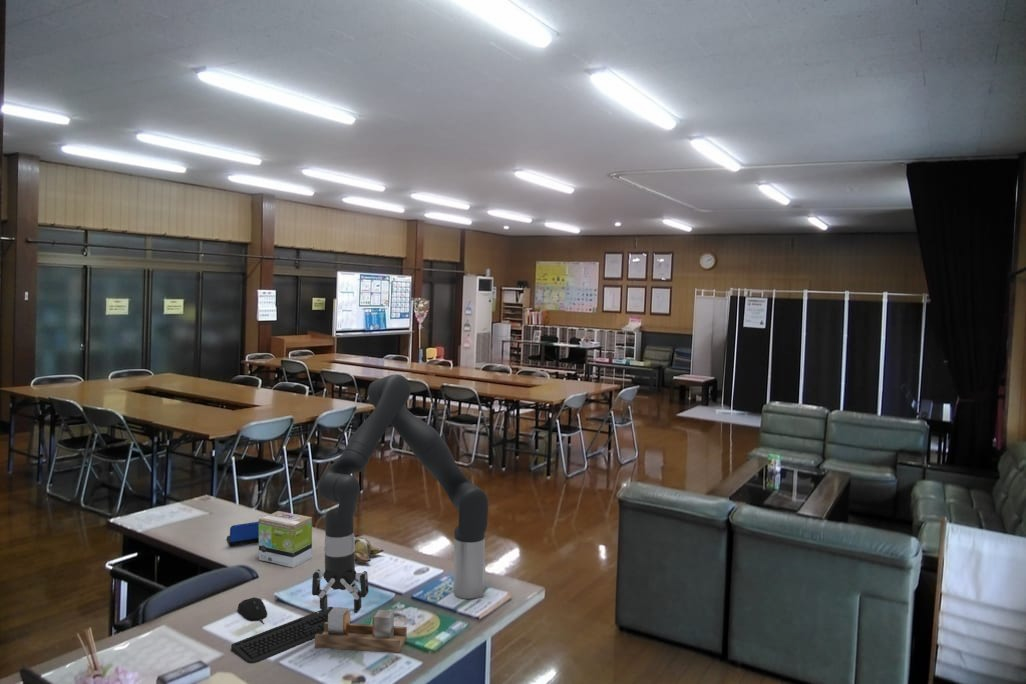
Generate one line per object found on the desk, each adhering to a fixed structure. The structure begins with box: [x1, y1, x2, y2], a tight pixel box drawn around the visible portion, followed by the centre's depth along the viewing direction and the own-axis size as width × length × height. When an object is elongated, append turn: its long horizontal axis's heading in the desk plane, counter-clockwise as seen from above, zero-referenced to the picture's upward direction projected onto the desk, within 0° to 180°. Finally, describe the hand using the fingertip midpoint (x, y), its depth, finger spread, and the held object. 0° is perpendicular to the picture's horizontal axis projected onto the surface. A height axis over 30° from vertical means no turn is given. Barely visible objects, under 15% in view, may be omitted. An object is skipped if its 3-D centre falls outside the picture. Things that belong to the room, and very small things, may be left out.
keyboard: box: [230, 606, 352, 664], centre depth 178 cm, size 30×11×2 cm, turn 139°
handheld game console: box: [226, 521, 259, 548], centre depth 246 cm, size 16×13×9 cm
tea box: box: [258, 510, 313, 569], centre depth 229 cm, size 15×10×15 cm
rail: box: [314, 609, 408, 653], centre depth 175 cm, size 22×8×8 cm, turn 85°
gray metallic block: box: [328, 606, 351, 636], centre depth 175 cm, size 4×5×7 cm
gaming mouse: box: [237, 597, 268, 625], centre depth 190 cm, size 6×15×4 cm, turn 40°
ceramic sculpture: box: [354, 534, 385, 563], centre depth 231 cm, size 11×9×15 cm
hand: (340, 611), depth 175 cm, fingers open, 8 cm apart
